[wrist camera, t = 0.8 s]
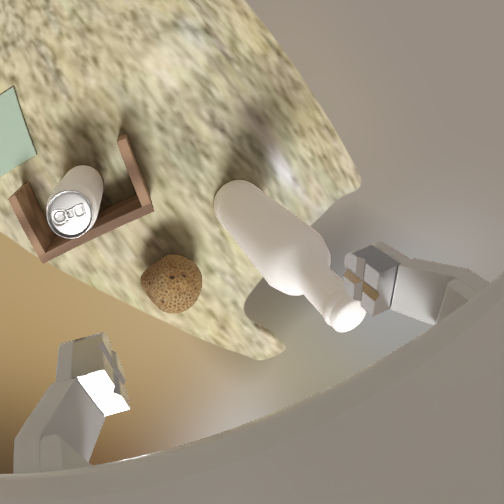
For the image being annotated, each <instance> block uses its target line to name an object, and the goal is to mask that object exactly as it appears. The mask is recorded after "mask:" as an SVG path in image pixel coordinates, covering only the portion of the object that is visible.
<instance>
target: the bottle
mask: <svg viewBox="0 0 504 504" xmlns="http://www.w3.org/2000/svg"><path fill="white" fill-rule="evenodd" d="M213 208H214V212H215V215H216V216H217V219H218V220H219V221H220V223H221V224H222V225H223V227H224V228H225V229H227V231H228V232H229V233H230V235H231V236H232V237H233V238H234V240H235V241H236V242H237V244H238V245H239V246H240V248H241V249H242V250H243V251H244V253H245V254H246V255H247V257H248V258H249V259H250V260H251V262H252V263H253V264H254V266H255V267H256V268H257V269H258V271H259V272H260V273H261V275H262V276H263V277H264V278H265V280H266V281H267V282H268V284H269V285H270V286H272V287H274V288H276V289H278V290H280V291H282V292H284V293H286V294H289V295H302V294H304V295H305V296H306V297H307V299H308V300H309V301H310V302H311V303H312V304H313V305H314V307H315V308H316V309H317V310H318V311H319V312H320V313H321V314H322V315H323V318H324V320H325V321H326V323H327V324H328V325H330V326H332V327H333V328H334V329H335V330H336V331H338V332H346V331H349V330H352V329H353V328H355V327H356V326H358V325H359V324H360V323H361V321H362V320H363V318H364V317H365V314H366V311H365V310H364V309H363V308H362V307H361V304H360V301H357V300H353V299H352V298H351V297H350V296H349V295H348V294H347V292H346V291H345V287H344V284H343V280H342V279H341V278H340V277H339V276H338V275H337V274H336V273H335V272H333V271H332V270H331V269H330V268H329V267H330V263H331V262H330V253H329V251H328V248H327V246H326V244H325V242H324V240H323V238H322V236H321V235H320V234H319V233H318V232H317V231H315V230H314V229H313V228H311V227H310V226H309V225H307V224H306V223H305V222H303V221H302V220H301V219H299V218H298V217H297V216H295V215H294V214H292V213H291V212H290V211H288V210H287V209H286V208H284V207H283V206H282V205H280V204H279V203H277V202H276V201H275V200H273V199H272V198H271V197H269V196H268V195H266V194H265V193H264V192H262V190H261V189H259V188H258V187H256V186H255V185H254V184H252V183H250V182H248V181H244V180H233V181H230V182H228V183H226V184H224V185H223V186H222V187H221V188H220V189H219V190H218V192H217V194H216V196H215V198H214V204H213Z"/></svg>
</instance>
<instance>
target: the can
mask: <svg viewBox="0 0 504 504" xmlns="http://www.w3.org/2000/svg"><path fill="white" fill-rule="evenodd" d="M102 194H103V180H102V177H101V175H100V174H99V173H98V171H97V170H95V169H94V168H92V167H90V166H86V165H80V166H76V167H74V168H72V169H71V170H69V171H68V172H67V173H66V174H65V176H64V177H63V178H62V179H61V181H60V182H59V183H58V185H57V186H56V187H55V189H54V190H53V191H52V193H51V194H50V196H49V198H48V201H47V206H46V216H47V221H48V224H49V226H50V228H51V229H52V230H53V231H54V232H55V233H56V234H57V235H59V236H61V237H63V238H68V239H73V238H77V237H80V236H82V235H83V234H85V233H86V232H87V231H88V230H89V229H90V228H91V227H92V226H93V225H94V223H95V221H96V218H97V215H98V211H99V207H100V203H101V198H102Z"/></svg>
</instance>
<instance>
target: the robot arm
mask: <svg viewBox="0 0 504 504" xmlns="http://www.w3.org/2000/svg"><path fill="white" fill-rule="evenodd" d="M344 265H345V266H346V268H347V270H346V272H345V274H344V276H343V284H344V287H345V291H346V292H347V294H348V295H349V296H350V297H351V298H352V299H353V300H357V301H360V304H361V307H362V308H363V309H364V310H365V311H367V312H368V313H369V314H370V315H371V316H372V317H373V316H375V315H377V314H379V313H381V312H384V311H386V310H388V309H390V308H391V310H394V311H396V312H399V313H402V314H404V315H407V316H410V317H412V318H415V319H418V320H421V321H423V322H426V323H429V324H431V325H434V326H432V327H431V328H429V329H428V330H426V331H425V332H423V333H422V334H421V335H419V336H417V337H416V338H415V339H413V340H411V341H410V342H408V343H406V344H405V345H403V346H402V347H400V348H398V349H397V350H396V351H394V352H392V353H390V354H389V355H387V356H385V357H384V358H382V359H380V360H378V361H377V362H375V363H373V364H372V365H370V366H368V367H366V368H364V369H363V370H361V371H359V372H357V373H355V374H353V375H352V376H350V377H348V378H346V379H344V380H342V381H340V382H338V383H336V384H334V385H332V386H330V387H328V388H326V389H324V390H322V391H320V392H318V393H316V394H314V395H312V396H310V397H308V398H305V399H303V400H301V401H299V402H297V403H294V404H292V405H290V406H288V407H285V408H283V409H281V410H278V411H276V412H274V413H271V414H269V415H267V416H264V417H261V418H259V419H256V420H254V421H251V422H249V423H246V424H243V425H241V426H238V427H235V428H233V429H230V430H227V431H224V432H221V433H218V434H216V435H212V436H210V437H206V438H203V439H200V440H197V441H194V442H191V443H187V444H184V445H180V446H177V447H173V448H170V449H166V450H163V451H159V452H155V453H151V454H147V455H142V456H138V457H134V458H129V459H125V460H121V461H116V462H110V463H105V464H99V465H93V466H92V465H91V464H90V463H89V459H90V456H91V454H92V451H93V448H94V446H95V443H96V440H97V438H98V435H99V433H100V430H101V427H102V425H103V423H104V420H105V416H106V415H110V414H114V413H117V412H121V411H125V410H128V409H130V406H129V400H128V393H127V391H126V389H125V388H124V386H123V385H124V383H125V374H124V370H123V367H122V364H121V362H120V359H119V357H118V355H117V353H116V352H114V351H112V350H111V344H110V340H109V339H108V337H107V335H106V334H105V333H99V334H95V335H92V336H88V337H84V338H80V339H76V340H72V341H69V342H65V343H61V344H60V346H59V350H58V361H57V370H56V383H53V384H51V385H50V387H49V388H48V390H47V391H46V393H45V394H44V396H43V397H42V398H41V400H40V401H39V403H38V404H37V406H36V407H35V409H34V410H33V412H32V413H31V415H30V416H29V418H28V419H27V421H26V422H25V424H24V425H23V427H22V428H21V430H20V432H19V433H18V435H17V436H16V438H15V444H14V474H0V504H504V272H503V273H502V274H501V275H499V276H498V277H497V278H496V279H495V280H493V281H492V282H491V283H489V282H488V281H486V280H485V279H483V278H482V277H480V276H479V275H477V274H476V273H474V272H472V271H471V270H469V269H466V268H461V267H456V266H451V265H446V264H441V263H436V262H431V261H425V260H421V259H416V258H413V259H410V258H408V257H407V256H405V255H403V254H402V253H400V252H399V251H397V250H396V249H394V248H392V247H391V246H389V245H387V244H386V243H384V242H381V241H378V242H376V243H373V244H371V245H369V246H367V247H364V248H362V249H359V250H356V251H353V252H351V253H348V254H346V256H345V260H344Z"/></svg>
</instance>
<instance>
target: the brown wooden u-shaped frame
mask: <svg viewBox="0 0 504 504" xmlns="http://www.w3.org/2000/svg"><path fill="white" fill-rule="evenodd" d="M117 144H118V147H119V150H120V153H121V155H122V158H123V160H124V163H125V166H126V168H127V171H128V173H129V176H130V178H131V181H132V183H133V186H134V188H135V191H136V193H137V194H136V195H134V196H131V197H129V198H127V199H125V200H122V201H120V202H118V203H116V204H114V205H111V206H109V207H107V208H105V209H103V210H101V211H99V212H98V215H97V218H96V221H95V223H94V225H93V226H92V227H91V228H90V229H89V230H88V231H87V232H86V233H85V234H83V235H82V236H80V237H77V238H73V239H68V238H63V237H61V236H59V235H57V234H56V233H53V231H52V229H51V228H50V226H49V224H48V222H47V220H46V218H45V216H44V214H43V212H42V210H41V208H40V206H39V203H38V201H37V199H36V197H35V195H34V193H33V191H32V188H31V186H30V184H29V182H27V183H26V184H24V185H22V186H21V187H20V188H19V189H18V190H17V191H16V192H15V193H14V194H13V195H12V196H11V197H10V198H9V199H8V200H9V202H10V204H11V206H12V208H13V210H14V212H15V214H16V216H17V218H18V220H19V222H20V224H21V226H22V228H23V229H24V231H25V233H26V235H27V237H28V239H29V240H30V242H31V244H32V246H33V248H34V249H35V251H36V253H37V255H38V256H39V258H40V260H41V261H42V263H45V262H47V261H49V260H51V259H53V258H55V257H57V256H59V255H61V254H63V253H65V252H67V251H69V250H71V249H73V248H75V247H77V246H79V245H81V244H83V243H85V242H87V241H90V240H92V239H94V238H96V237H98V236H100V235H102V234H104V233H107V232H109V231H111V230H113V229H115V228H117V227H120V226H122V225H124V224H126V223H128V222H131V221H133V220H135V219H138V218H140V217H142V216H144V215H147V214H149V213H151V212H154V209H153V205H152V201H151V197H150V195H149V192H148V190H147V187H146V184H145V182H144V179H143V177H142V174H141V172H140V169H139V166H138V164H137V161H136V158H135V156H134V153H133V150H132V148H131V145H130V142H129V139H128V137H127V134H126V133H125V134H123V135H121V136H118V139H117Z"/></svg>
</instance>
